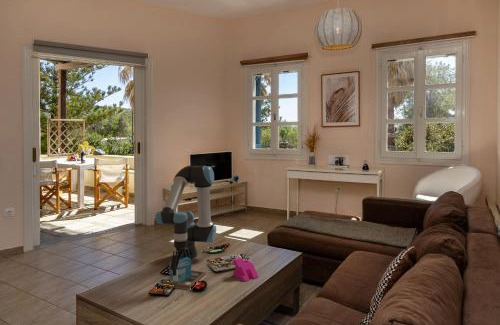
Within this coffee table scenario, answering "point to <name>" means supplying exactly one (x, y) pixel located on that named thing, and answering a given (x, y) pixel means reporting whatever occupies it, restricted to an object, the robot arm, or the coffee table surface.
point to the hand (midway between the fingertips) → (180, 276)
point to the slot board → (187, 281)
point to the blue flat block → (182, 270)
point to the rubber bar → (195, 275)
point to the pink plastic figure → (244, 269)
